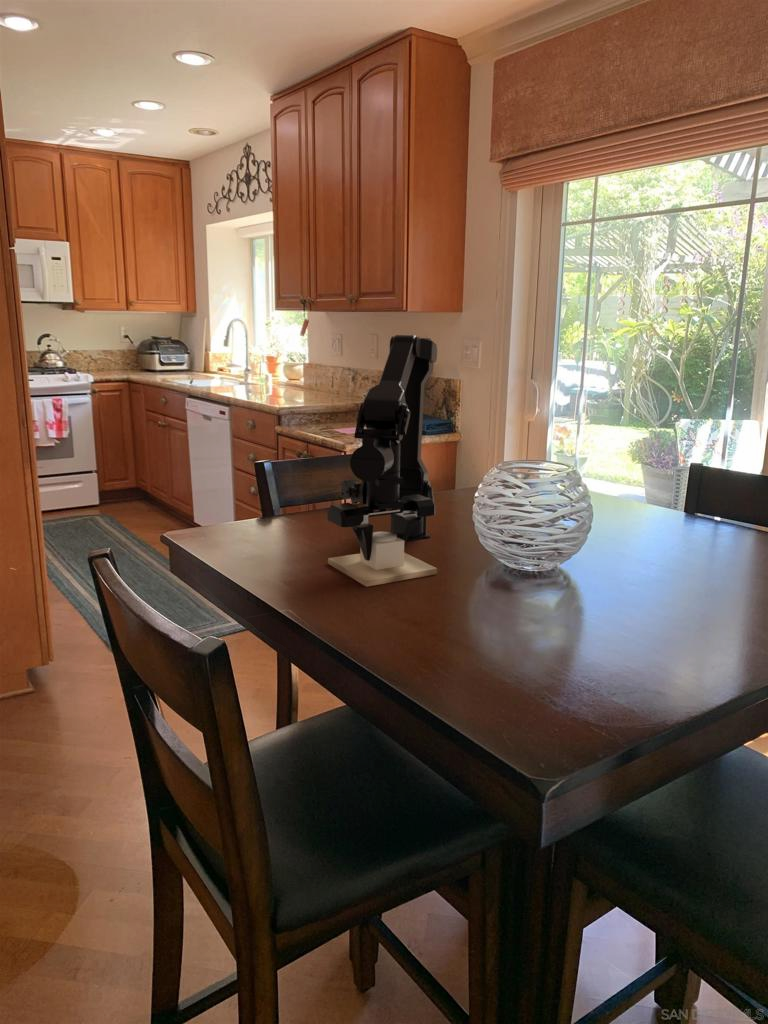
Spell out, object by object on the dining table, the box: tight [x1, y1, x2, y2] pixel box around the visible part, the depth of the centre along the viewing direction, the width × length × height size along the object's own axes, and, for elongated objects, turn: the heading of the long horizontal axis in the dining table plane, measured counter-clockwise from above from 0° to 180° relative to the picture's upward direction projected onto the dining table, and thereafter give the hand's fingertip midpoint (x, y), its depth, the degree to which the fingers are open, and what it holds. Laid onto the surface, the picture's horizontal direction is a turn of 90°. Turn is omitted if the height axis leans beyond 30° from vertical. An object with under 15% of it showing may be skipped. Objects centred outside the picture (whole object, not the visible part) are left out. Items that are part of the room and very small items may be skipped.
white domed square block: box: [359, 531, 405, 570], centre depth 132 cm, size 6×6×5 cm
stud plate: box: [327, 552, 438, 587], centre depth 132 cm, size 14×14×4 cm
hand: (381, 557), depth 132 cm, fingers closed on white domed square block, 6 cm apart
